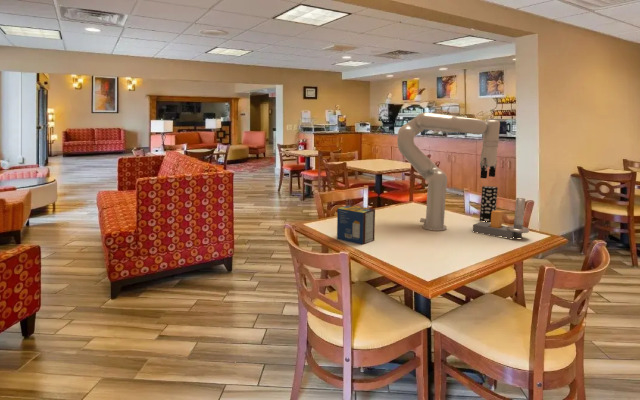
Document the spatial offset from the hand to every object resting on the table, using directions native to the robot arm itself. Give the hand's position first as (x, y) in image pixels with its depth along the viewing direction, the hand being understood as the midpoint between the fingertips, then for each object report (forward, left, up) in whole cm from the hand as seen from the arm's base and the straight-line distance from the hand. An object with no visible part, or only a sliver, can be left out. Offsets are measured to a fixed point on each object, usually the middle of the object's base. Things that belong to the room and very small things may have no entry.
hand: (487, 177), depth 221 cm
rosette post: (+19, -4, -28) cm, 34 cm away
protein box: (-34, -65, -29) cm, 79 cm away
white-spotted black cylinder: (-8, +22, -28) cm, 37 cm away
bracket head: (+8, -4, -28) cm, 30 cm away
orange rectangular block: (+8, -4, -28) cm, 30 cm away
